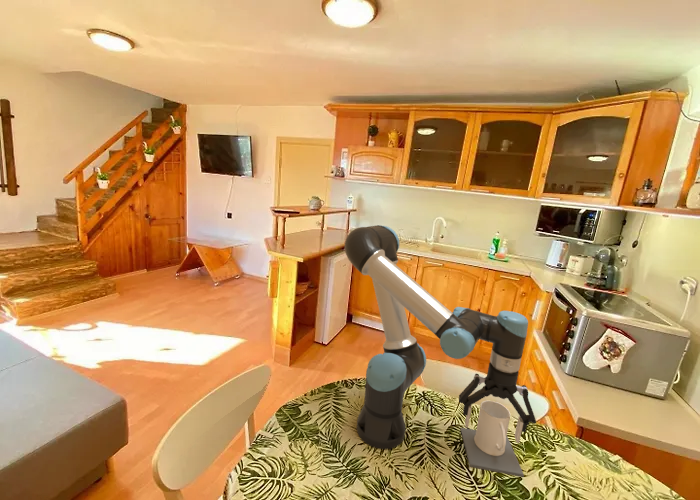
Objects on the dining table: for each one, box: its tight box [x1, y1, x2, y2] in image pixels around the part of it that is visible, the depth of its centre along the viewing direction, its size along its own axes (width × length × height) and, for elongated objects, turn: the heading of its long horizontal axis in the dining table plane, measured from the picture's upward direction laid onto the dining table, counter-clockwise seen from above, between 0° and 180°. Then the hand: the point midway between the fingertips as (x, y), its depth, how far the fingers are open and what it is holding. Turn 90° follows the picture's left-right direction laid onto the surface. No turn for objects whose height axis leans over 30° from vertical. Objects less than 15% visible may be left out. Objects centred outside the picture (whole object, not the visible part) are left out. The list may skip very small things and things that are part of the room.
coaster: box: [460, 427, 525, 478], centre depth 92 cm, size 14×14×1 cm
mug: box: [474, 399, 511, 456], centre depth 91 cm, size 12×8×12 cm
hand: (491, 431), depth 91 cm, fingers open, 13 cm apart
